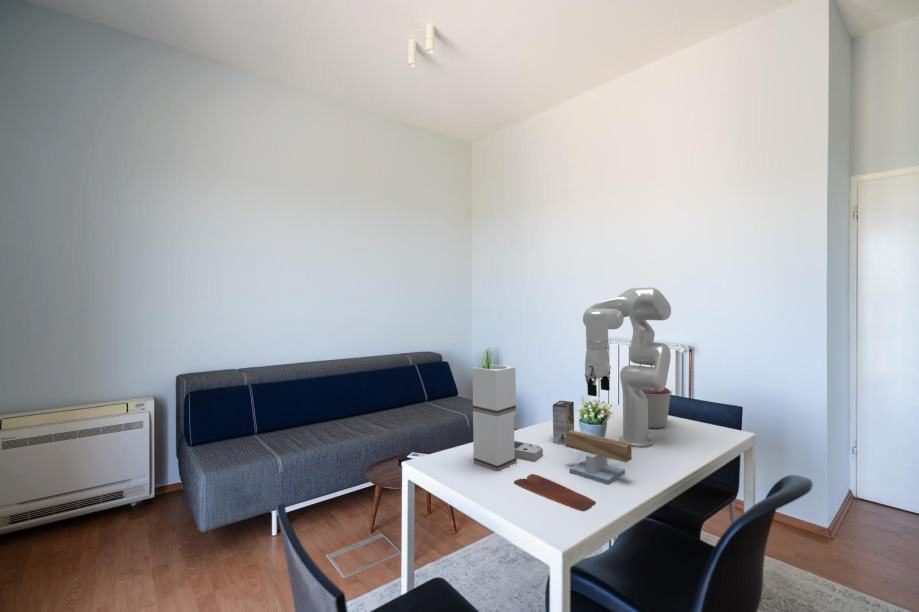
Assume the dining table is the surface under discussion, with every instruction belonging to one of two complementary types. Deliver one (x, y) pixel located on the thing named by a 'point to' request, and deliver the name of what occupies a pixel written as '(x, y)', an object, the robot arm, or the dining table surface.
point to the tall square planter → (494, 416)
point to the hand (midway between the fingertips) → (598, 392)
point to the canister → (658, 407)
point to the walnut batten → (599, 446)
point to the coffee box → (562, 420)
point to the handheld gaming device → (527, 451)
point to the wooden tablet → (556, 492)
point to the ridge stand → (597, 469)
